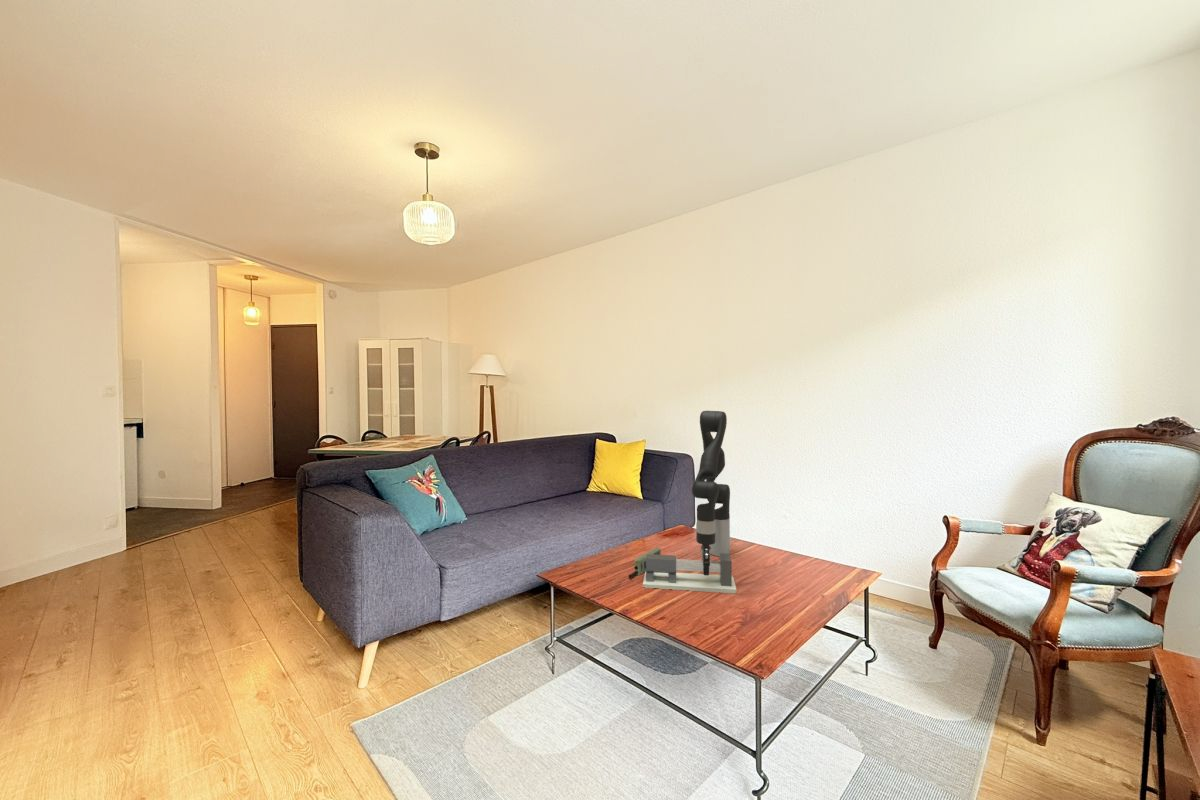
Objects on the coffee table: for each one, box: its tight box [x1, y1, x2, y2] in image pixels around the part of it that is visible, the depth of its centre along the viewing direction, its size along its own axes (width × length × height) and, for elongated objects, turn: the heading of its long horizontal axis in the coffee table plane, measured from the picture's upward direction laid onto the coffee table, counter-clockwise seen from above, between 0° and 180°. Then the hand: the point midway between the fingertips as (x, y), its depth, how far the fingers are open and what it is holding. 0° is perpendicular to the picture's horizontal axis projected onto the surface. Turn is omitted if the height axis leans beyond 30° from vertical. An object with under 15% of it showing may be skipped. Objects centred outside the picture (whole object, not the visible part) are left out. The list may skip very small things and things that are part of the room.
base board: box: [642, 572, 738, 594], centre depth 193 cm, size 14×36×2 cm, turn 80°
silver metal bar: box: [676, 558, 721, 574], centre depth 192 cm, size 3×24×3 cm, turn 80°
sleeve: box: [646, 554, 677, 583], centre depth 195 cm, size 8×12×9 cm, turn 80°
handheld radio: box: [628, 547, 662, 579], centre depth 208 cm, size 7×3×25 cm
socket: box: [719, 553, 733, 586], centre depth 190 cm, size 8×4×10 cm, turn 170°
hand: (706, 572), depth 192 cm, fingers closed on silver metal bar, 3 cm apart
